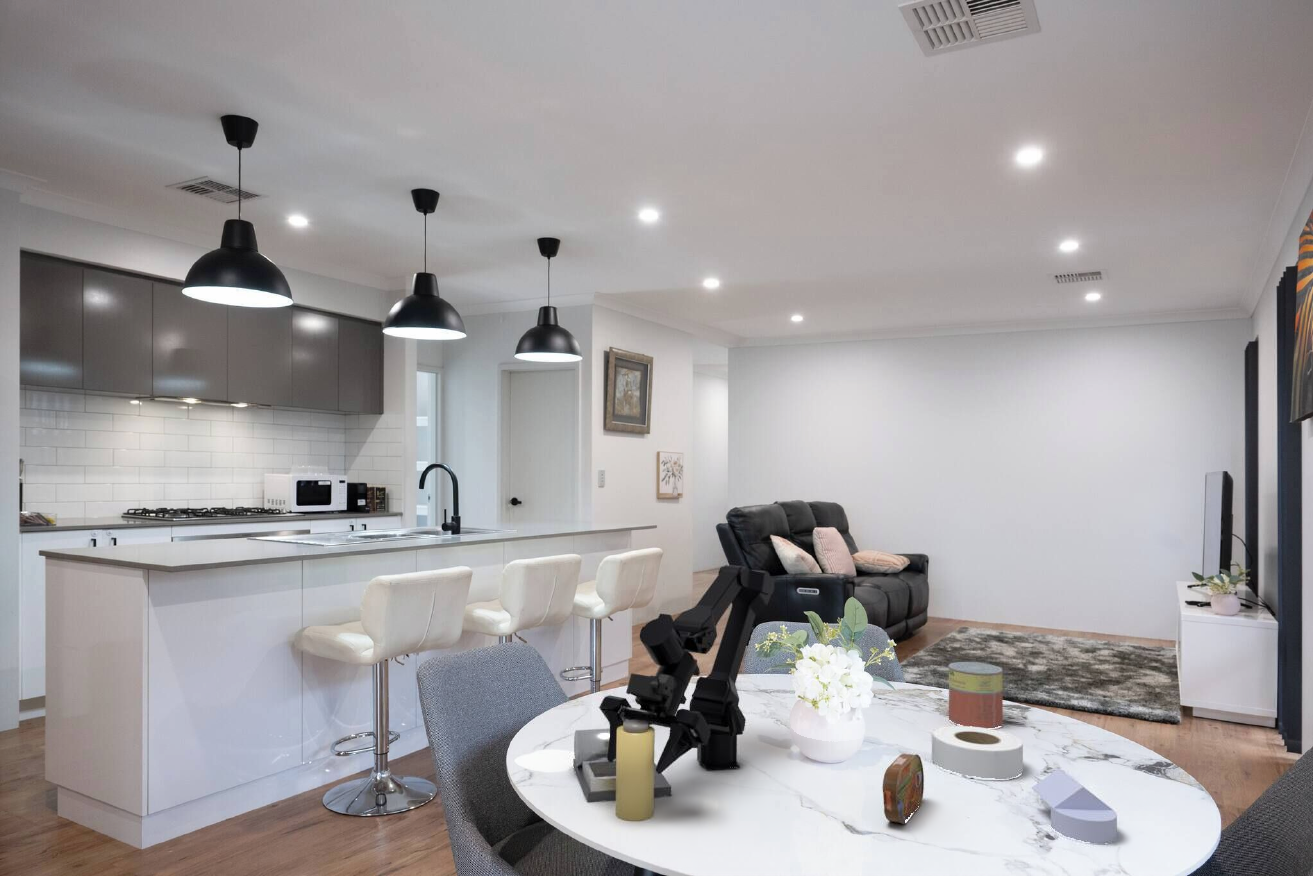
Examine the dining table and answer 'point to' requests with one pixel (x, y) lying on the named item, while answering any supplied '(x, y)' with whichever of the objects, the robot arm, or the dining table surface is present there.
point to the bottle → (635, 771)
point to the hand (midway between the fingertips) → (632, 766)
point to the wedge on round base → (1077, 809)
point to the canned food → (975, 694)
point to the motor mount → (602, 767)
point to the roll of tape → (977, 752)
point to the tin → (903, 787)
